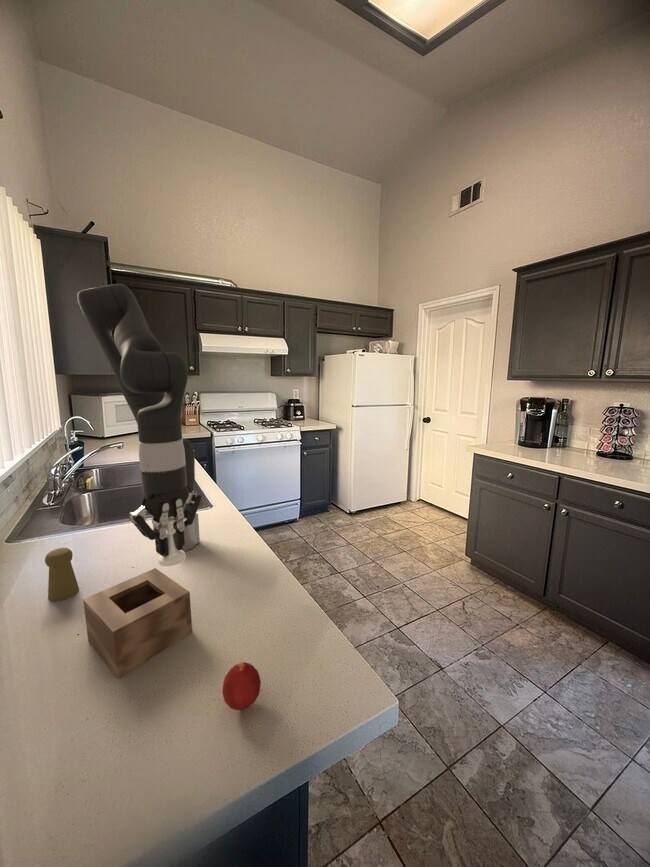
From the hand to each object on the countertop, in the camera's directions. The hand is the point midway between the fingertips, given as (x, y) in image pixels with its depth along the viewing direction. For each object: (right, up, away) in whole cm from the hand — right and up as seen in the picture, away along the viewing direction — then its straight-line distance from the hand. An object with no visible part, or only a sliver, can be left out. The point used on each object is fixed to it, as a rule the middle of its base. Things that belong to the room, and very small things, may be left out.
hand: (171, 551), depth 66 cm
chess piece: (0, -2, 0) cm, 2 cm away
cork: (-33, -16, +17) cm, 41 cm away
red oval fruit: (+16, -21, -11) cm, 29 cm away
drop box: (-8, -18, +3) cm, 20 cm away
